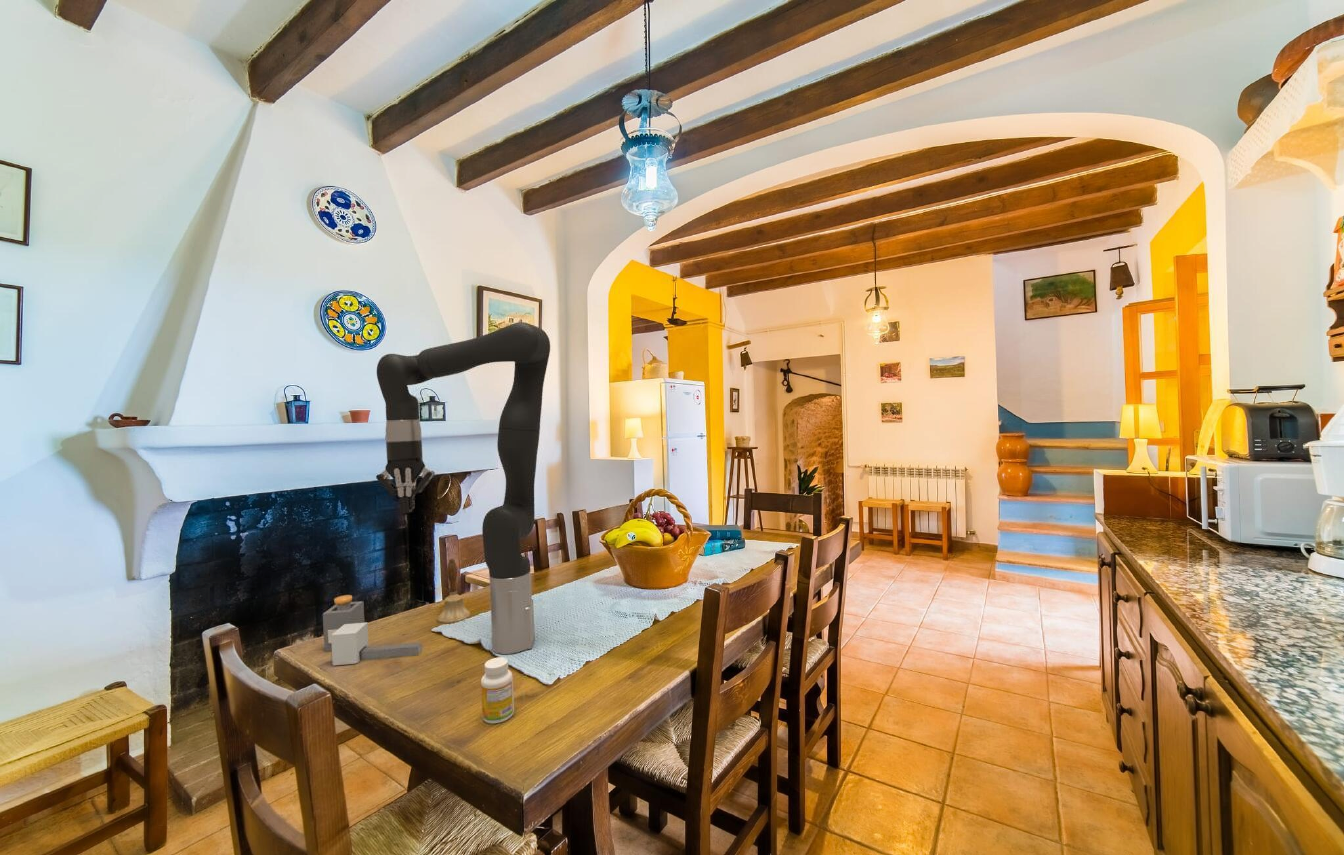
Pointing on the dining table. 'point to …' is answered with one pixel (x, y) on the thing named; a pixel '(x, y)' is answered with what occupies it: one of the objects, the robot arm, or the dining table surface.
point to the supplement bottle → (497, 691)
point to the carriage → (349, 643)
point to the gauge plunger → (343, 602)
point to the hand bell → (453, 599)
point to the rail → (390, 651)
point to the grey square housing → (341, 620)
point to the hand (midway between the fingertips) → (407, 511)
